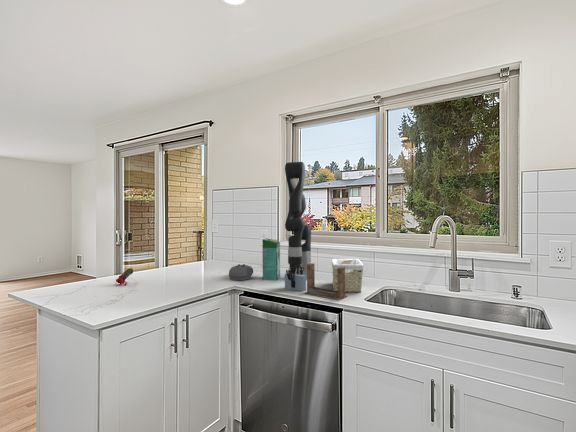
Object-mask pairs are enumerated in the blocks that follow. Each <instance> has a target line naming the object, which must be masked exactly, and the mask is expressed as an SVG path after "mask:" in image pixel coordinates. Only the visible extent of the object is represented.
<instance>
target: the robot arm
mask: <svg viewBox="0 0 576 432" xmlns="http://www.w3.org/2000/svg"><path fill="white" fill-rule="evenodd" d="M284 172H285V173H284V174H285V177H286V179H285V180H286V183H287V187H288V188H287V189H288V194H289V195H288V197H289V199H288V213H287V216H286V220H285V224H284V227H285V230H286V231H287V232H293V233H292V234H293V235H290V236H288V240H287V241H288V249H287V263H288V265H289V266H288V269H286V270H285V274H287V277H288V280H291V287H292V288H295V277H296V274H298V275H306V280H307V264H310V263H312V251H311V249H312V245H311V244H312V228H311V226H310V225H307V224H306V223H305V220H304V219H303V218H302V217H303V214H304V213H305V211H306V209H307V204H306V196H305V195H304V193H303V192H304V186H305V178H306V177H305V176H306V164H305V163H304V162H303V161H291V162H286V163H285V165H284ZM294 179H296V180H298V181H297V184H296V183H295V180H294ZM302 241H304V243H302ZM292 274H294V275H292ZM292 276H293V277H292Z"/></svg>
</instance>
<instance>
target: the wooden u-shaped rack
mask: <svg viewBox="0 0 576 432" xmlns="http://www.w3.org/2000/svg"><path fill="white" fill-rule="evenodd" d="M315 269H316V268H315V263H313V262H311V263H310V264H307V279H306V292H304V294H305V295H309V296H314V297H320V298H325V299H330V300H337V301H340V300H342V299H346V298H347V297H348V295H347V294H346V292H345V267H339V268H337V274H338V290H334V289H330V288H327V287H326V288H325V287H319V286H315V285H316V284H315V279H316V277H315V275H316V274H315V273H316V272H315Z"/></svg>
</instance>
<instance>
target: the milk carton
mask: <svg viewBox="0 0 576 432" xmlns="http://www.w3.org/2000/svg"><path fill="white" fill-rule="evenodd" d="M280 278H281V241H280V240H279V241H278V239H276V238H267V237H266V238H265V237H264V238H263V239H262V280H265V281H266V280H267V281H277V280H279V279H280Z"/></svg>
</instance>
